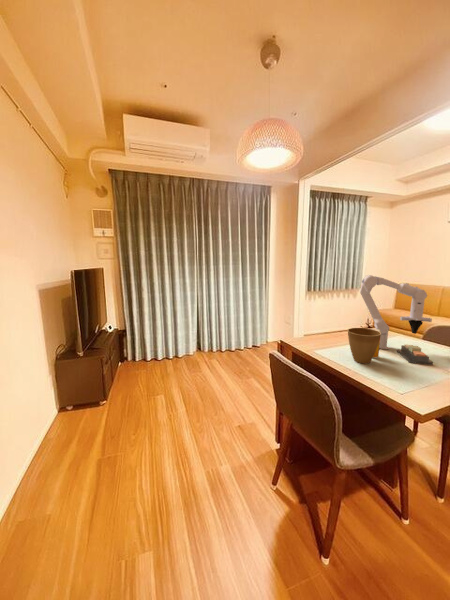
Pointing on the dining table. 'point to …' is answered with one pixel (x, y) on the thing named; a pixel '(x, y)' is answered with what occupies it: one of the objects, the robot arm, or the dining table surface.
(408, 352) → the console
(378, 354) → the beer can
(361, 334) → the plant pot
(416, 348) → the key sage
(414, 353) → the key terracotta
